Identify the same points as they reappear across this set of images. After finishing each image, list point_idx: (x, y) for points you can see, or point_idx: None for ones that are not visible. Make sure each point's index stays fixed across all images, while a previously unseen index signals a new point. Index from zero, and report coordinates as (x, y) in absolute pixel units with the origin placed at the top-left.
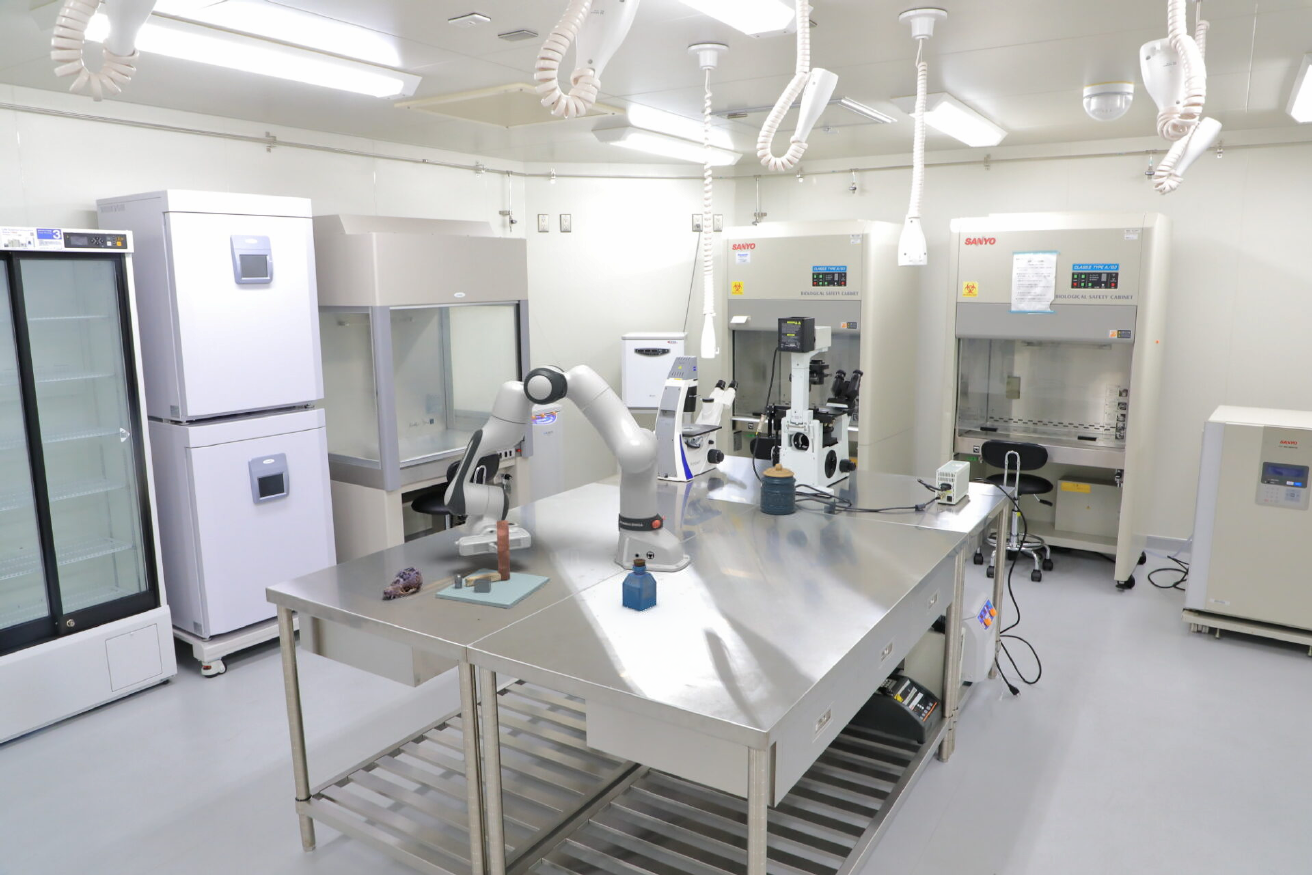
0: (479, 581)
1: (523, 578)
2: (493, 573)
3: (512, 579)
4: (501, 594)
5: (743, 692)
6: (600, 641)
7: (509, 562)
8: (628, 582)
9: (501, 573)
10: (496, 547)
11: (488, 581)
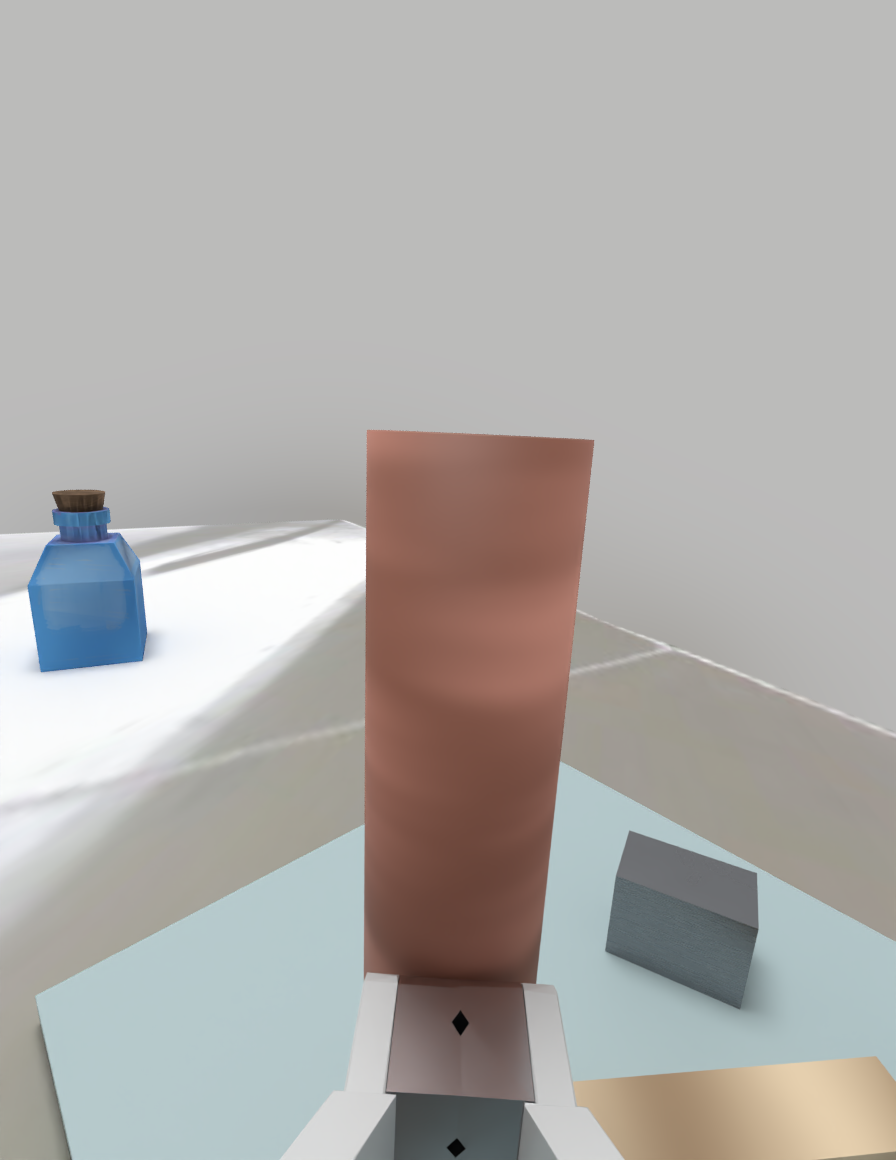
0: (708, 859)
1: (239, 1105)
2: None
3: None
4: None
5: (295, 531)
6: (362, 597)
7: None
8: (132, 566)
9: None
10: (548, 1009)
11: (634, 835)
